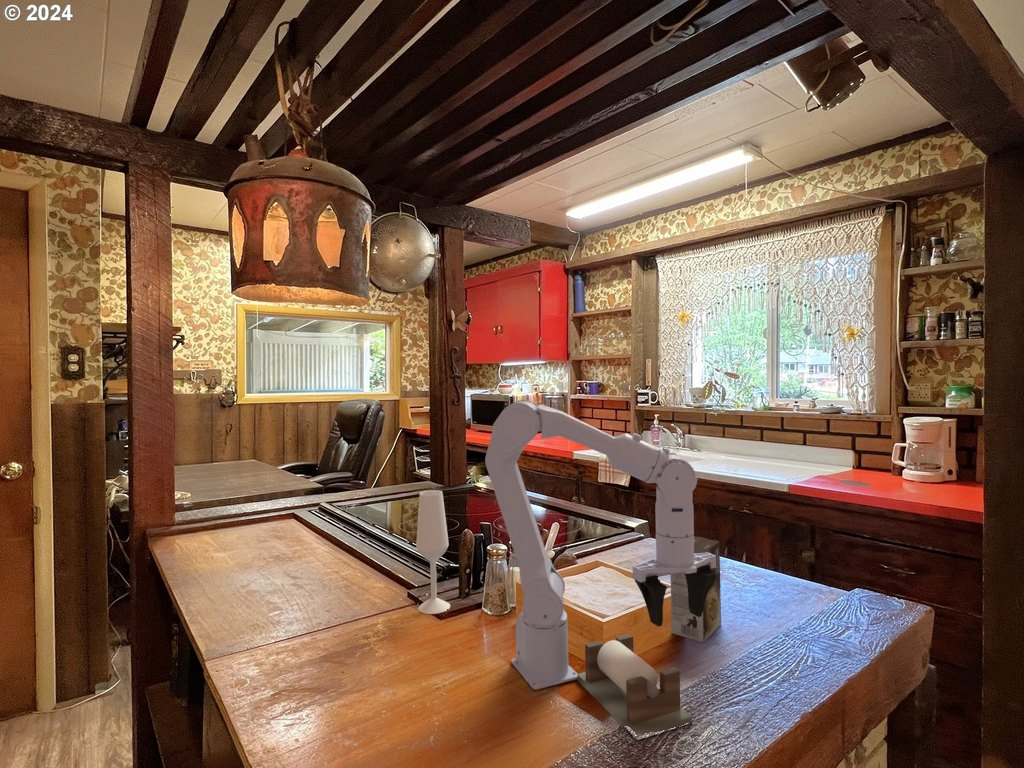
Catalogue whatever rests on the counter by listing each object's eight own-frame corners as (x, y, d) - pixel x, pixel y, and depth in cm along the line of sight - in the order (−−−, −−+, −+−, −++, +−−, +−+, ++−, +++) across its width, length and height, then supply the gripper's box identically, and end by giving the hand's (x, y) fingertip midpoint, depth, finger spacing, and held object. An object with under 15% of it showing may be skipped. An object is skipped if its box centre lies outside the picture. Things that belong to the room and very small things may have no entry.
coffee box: (689, 616, 110) (687, 534, 110) (722, 624, 106) (721, 540, 106) (669, 633, 103) (668, 546, 103) (704, 643, 99) (703, 552, 99)
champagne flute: (413, 604, 119) (410, 491, 118) (443, 598, 122) (440, 488, 122) (423, 616, 113) (420, 497, 113) (455, 609, 116) (452, 493, 116)
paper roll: (606, 670, 89) (583, 657, 87) (621, 641, 90) (599, 628, 88) (657, 716, 77) (631, 702, 75) (674, 682, 78) (649, 667, 76)
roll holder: (577, 680, 88) (576, 639, 88) (625, 667, 92) (625, 628, 92) (636, 741, 74) (635, 692, 74) (692, 723, 77) (691, 676, 77)
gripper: (651, 546, 81) (653, 639, 82) (729, 533, 87) (731, 620, 87) (624, 533, 88) (625, 619, 88) (698, 522, 93) (699, 603, 94)
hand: (676, 618), depth 88 cm, fingers open, 7 cm apart
